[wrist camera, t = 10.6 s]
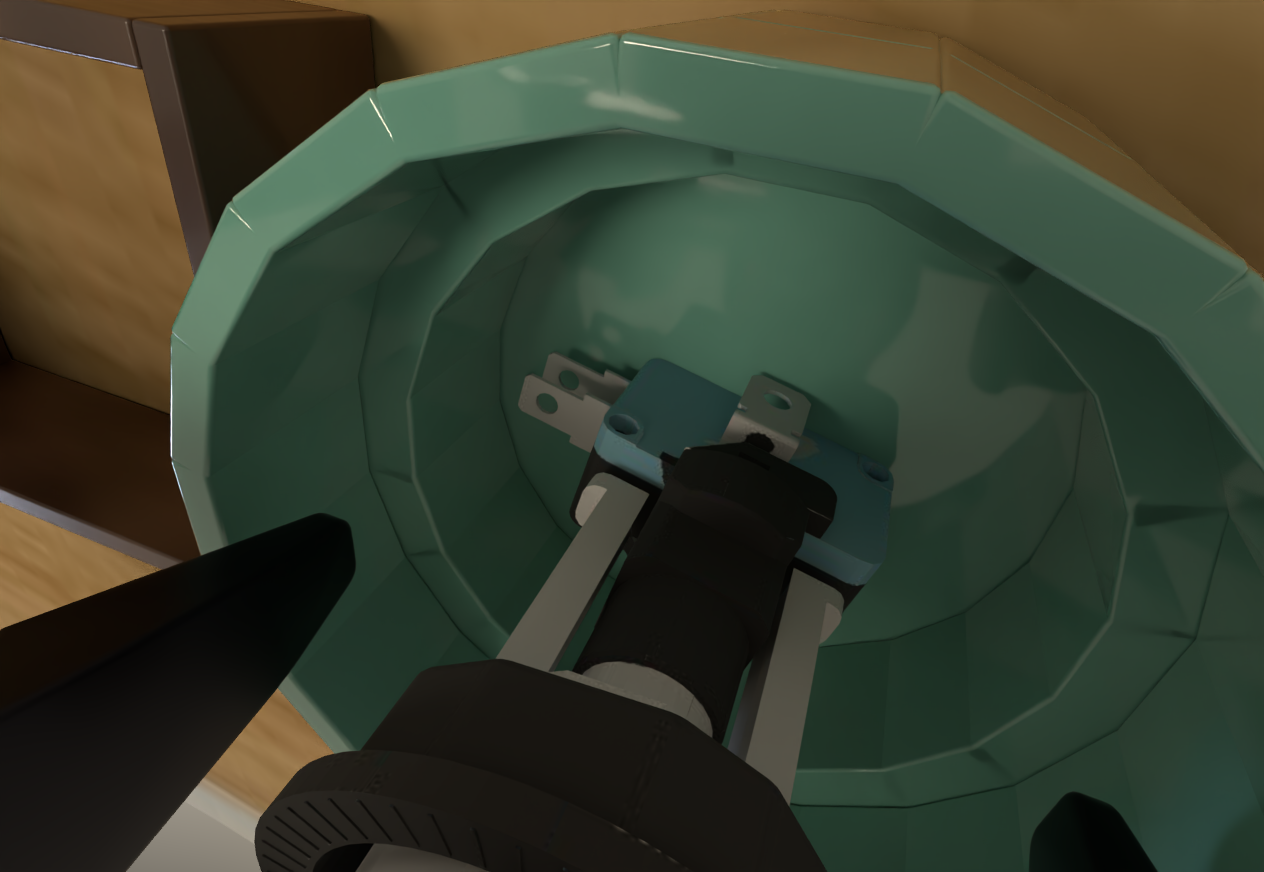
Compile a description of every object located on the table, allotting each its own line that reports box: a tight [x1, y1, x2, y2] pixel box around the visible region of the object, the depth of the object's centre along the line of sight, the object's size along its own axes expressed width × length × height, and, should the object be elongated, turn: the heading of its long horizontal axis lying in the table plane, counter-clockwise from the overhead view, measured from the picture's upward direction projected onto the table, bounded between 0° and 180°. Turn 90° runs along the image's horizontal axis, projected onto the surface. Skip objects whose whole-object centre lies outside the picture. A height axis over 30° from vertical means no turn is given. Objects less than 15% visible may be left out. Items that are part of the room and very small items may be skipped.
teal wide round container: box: [170, 10, 1264, 872], centre depth 11 cm, size 13×13×6 cm
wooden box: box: [0, 0, 375, 570], centre depth 15 cm, size 14×11×4 cm
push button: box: [254, 351, 894, 872], centre depth 9 cm, size 7×5×10 cm
